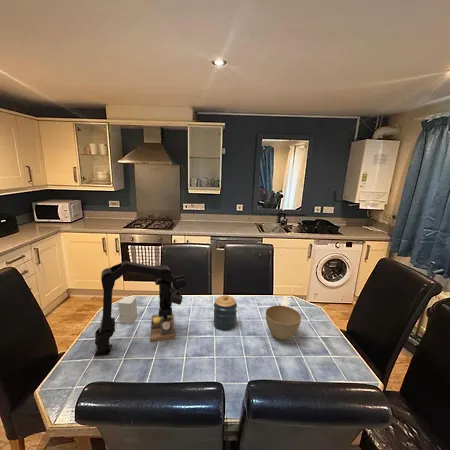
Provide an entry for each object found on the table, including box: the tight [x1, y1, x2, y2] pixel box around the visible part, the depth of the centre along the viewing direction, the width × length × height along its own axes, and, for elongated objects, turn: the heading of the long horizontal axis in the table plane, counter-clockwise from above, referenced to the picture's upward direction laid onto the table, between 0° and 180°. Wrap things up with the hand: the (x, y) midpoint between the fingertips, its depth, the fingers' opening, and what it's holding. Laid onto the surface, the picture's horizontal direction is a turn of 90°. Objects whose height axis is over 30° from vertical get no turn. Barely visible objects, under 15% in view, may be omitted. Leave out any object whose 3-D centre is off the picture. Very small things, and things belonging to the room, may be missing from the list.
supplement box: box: [117, 296, 138, 325], centre depth 142 cm, size 7×7×13 cm
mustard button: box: [153, 317, 161, 325], centre depth 135 cm, size 4×4×2 cm
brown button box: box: [149, 312, 176, 343], centre depth 136 cm, size 21×12×4 cm, turn 13°
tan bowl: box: [265, 305, 302, 341], centre depth 132 cm, size 18×18×12 cm
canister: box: [213, 294, 238, 331], centre depth 140 cm, size 13×13×18 cm
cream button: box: [163, 322, 170, 331], centre depth 130 cm, size 4×4×2 cm
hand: (165, 318), depth 129 cm, fingers closed
